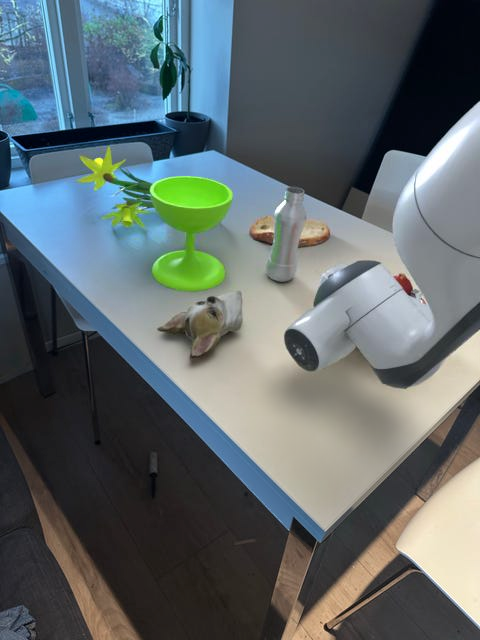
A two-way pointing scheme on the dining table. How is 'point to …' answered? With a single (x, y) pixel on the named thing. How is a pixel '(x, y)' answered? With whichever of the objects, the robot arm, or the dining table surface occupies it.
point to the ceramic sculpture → (208, 322)
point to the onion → (404, 283)
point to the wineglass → (190, 229)
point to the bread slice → (310, 234)
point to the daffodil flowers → (127, 209)
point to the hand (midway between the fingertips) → (400, 285)
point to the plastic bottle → (287, 235)
